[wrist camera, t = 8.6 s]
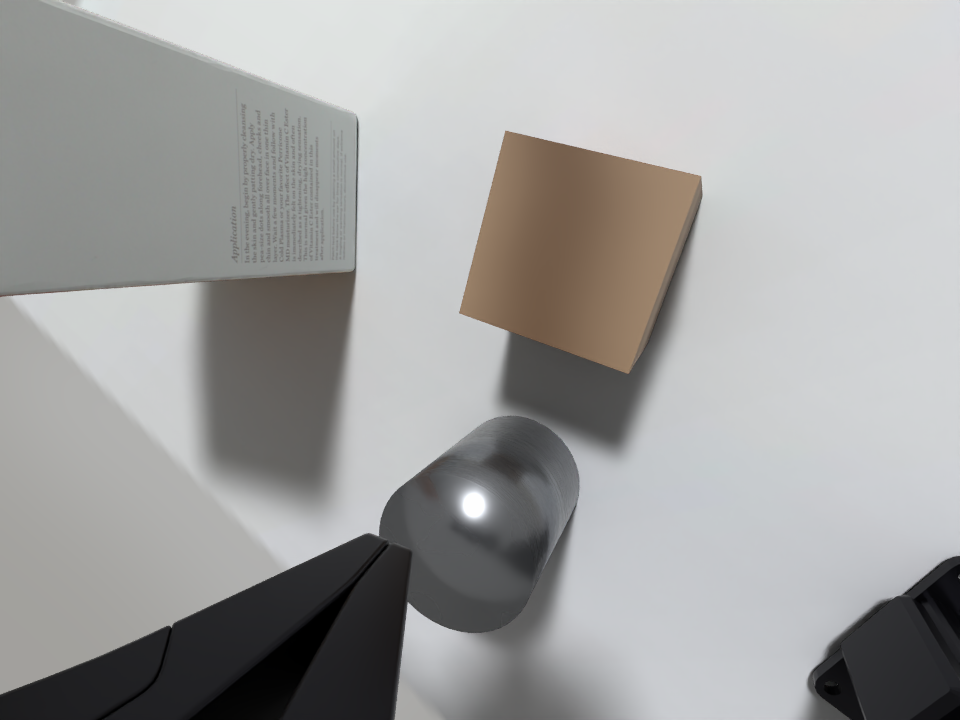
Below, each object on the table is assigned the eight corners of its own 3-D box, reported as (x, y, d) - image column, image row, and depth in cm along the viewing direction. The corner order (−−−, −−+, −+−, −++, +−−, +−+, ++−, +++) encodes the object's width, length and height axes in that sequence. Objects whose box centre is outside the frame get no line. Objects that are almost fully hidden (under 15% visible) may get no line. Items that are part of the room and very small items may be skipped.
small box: (215, 259, 25) (-220, 268, 13) (209, 114, 24) (-287, -22, 12) (359, 275, 22) (-33, 305, 10) (362, 111, 21) (-92, -73, 9)
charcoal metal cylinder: (605, 470, 20) (567, 553, 14) (535, 559, 21) (478, 664, 16) (496, 391, 21) (423, 440, 15) (439, 482, 23) (355, 556, 17)
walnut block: (702, 196, 17) (701, 176, 12) (647, 343, 18) (628, 374, 14) (554, 160, 18) (505, 130, 14) (515, 298, 20) (459, 313, 15)
